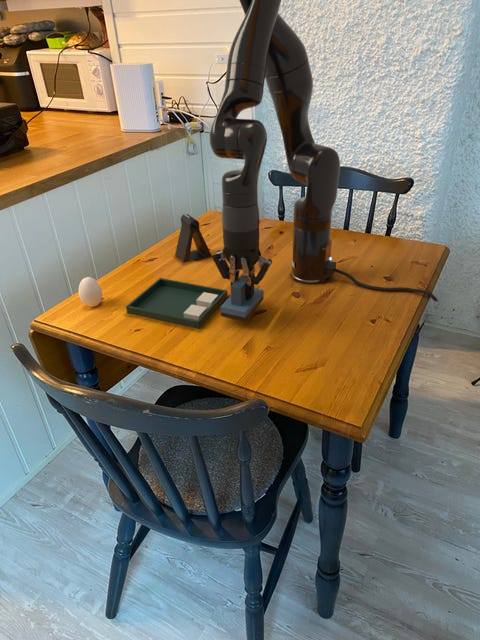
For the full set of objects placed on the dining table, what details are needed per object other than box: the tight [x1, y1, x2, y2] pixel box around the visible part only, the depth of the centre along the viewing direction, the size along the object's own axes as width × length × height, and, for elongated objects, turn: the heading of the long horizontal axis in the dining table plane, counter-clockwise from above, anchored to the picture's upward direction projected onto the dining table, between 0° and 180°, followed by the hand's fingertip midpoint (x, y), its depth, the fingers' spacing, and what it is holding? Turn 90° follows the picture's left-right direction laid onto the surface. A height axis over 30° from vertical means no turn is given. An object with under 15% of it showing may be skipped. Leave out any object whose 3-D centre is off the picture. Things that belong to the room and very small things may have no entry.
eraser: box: [220, 273, 265, 322], centre depth 104 cm, size 6×10×7 cm, turn 156°
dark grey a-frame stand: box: [174, 213, 213, 263], centre depth 133 cm, size 9×6×12 cm, turn 119°
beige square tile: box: [196, 292, 219, 308], centre depth 112 cm, size 4×4×2 cm
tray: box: [125, 277, 229, 330], centre depth 112 cm, size 19×15×2 cm
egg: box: [78, 276, 103, 308], centre depth 113 cm, size 5×5×8 cm
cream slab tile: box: [184, 305, 207, 320], centre depth 108 cm, size 4×4×2 cm
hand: (242, 296), depth 105 cm, fingers closed on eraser, 2 cm apart
